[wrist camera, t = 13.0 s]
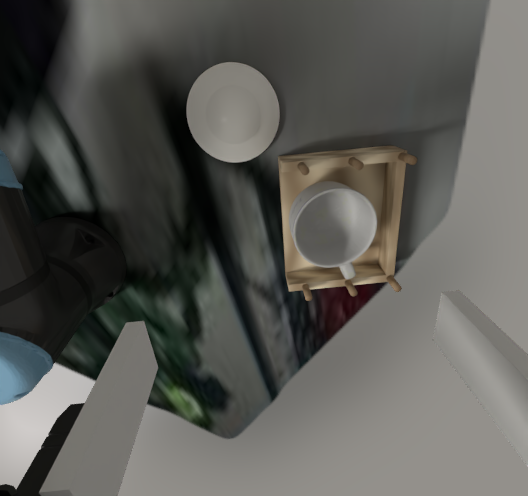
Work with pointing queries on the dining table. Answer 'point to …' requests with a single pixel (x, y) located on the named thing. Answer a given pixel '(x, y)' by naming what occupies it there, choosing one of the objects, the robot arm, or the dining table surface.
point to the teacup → (332, 225)
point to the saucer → (233, 112)
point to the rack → (365, 182)
